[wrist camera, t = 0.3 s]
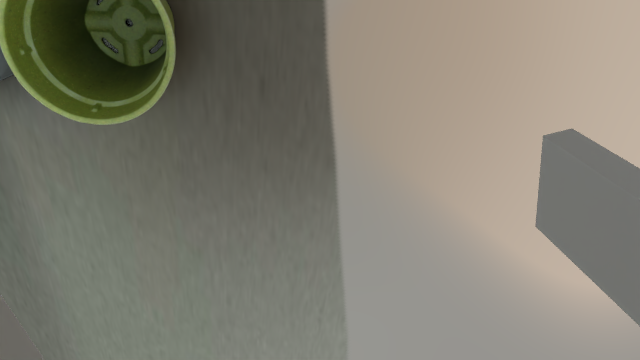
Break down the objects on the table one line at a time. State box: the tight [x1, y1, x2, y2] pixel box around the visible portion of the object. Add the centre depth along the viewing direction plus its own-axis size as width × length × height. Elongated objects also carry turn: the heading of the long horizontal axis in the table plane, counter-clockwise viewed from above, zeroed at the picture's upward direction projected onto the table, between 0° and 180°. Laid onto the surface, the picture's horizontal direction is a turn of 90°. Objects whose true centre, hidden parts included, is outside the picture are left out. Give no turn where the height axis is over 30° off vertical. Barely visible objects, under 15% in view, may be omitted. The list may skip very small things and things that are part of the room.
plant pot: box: [0, 0, 176, 125], centre depth 30 cm, size 9×9×9 cm
